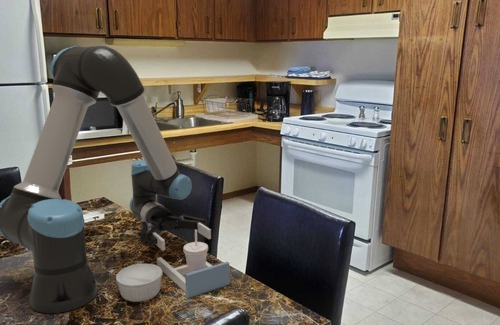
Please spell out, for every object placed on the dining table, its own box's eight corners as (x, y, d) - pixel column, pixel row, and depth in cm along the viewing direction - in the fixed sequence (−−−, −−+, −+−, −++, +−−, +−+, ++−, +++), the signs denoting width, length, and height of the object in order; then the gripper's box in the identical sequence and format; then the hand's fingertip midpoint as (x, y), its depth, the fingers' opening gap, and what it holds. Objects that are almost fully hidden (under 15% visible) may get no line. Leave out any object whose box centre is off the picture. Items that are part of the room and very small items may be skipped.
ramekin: (117, 308, 101) (115, 287, 100) (117, 285, 112) (115, 266, 110) (165, 301, 104) (164, 281, 103) (161, 279, 115) (160, 261, 114)
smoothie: (211, 275, 117) (210, 226, 113) (206, 287, 110) (205, 236, 107) (187, 274, 117) (186, 225, 114) (181, 286, 111) (179, 235, 108)
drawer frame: (187, 298, 105) (187, 275, 104) (154, 267, 121) (153, 247, 120) (229, 284, 112) (229, 262, 111) (192, 256, 128) (192, 237, 127)
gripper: (193, 220, 141) (227, 242, 124) (117, 237, 127) (143, 264, 110) (193, 198, 139) (227, 217, 122) (115, 212, 126) (141, 236, 108)
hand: (187, 239), depth 116 cm, fingers open, 13 cm apart
